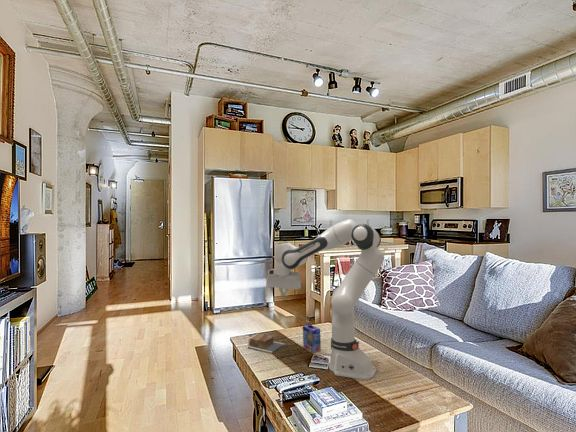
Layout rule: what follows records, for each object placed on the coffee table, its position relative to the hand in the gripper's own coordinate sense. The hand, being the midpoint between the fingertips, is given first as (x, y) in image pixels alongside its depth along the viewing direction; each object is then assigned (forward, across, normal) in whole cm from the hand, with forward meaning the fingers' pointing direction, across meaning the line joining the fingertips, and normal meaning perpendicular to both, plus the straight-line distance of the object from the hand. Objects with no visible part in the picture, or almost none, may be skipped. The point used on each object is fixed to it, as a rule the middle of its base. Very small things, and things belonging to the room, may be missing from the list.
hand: (283, 296), depth 183 cm
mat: (+30, +12, 0) cm, 33 cm away
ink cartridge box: (+31, -12, -10) cm, 34 cm away
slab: (+28, +10, 0) cm, 29 cm away
